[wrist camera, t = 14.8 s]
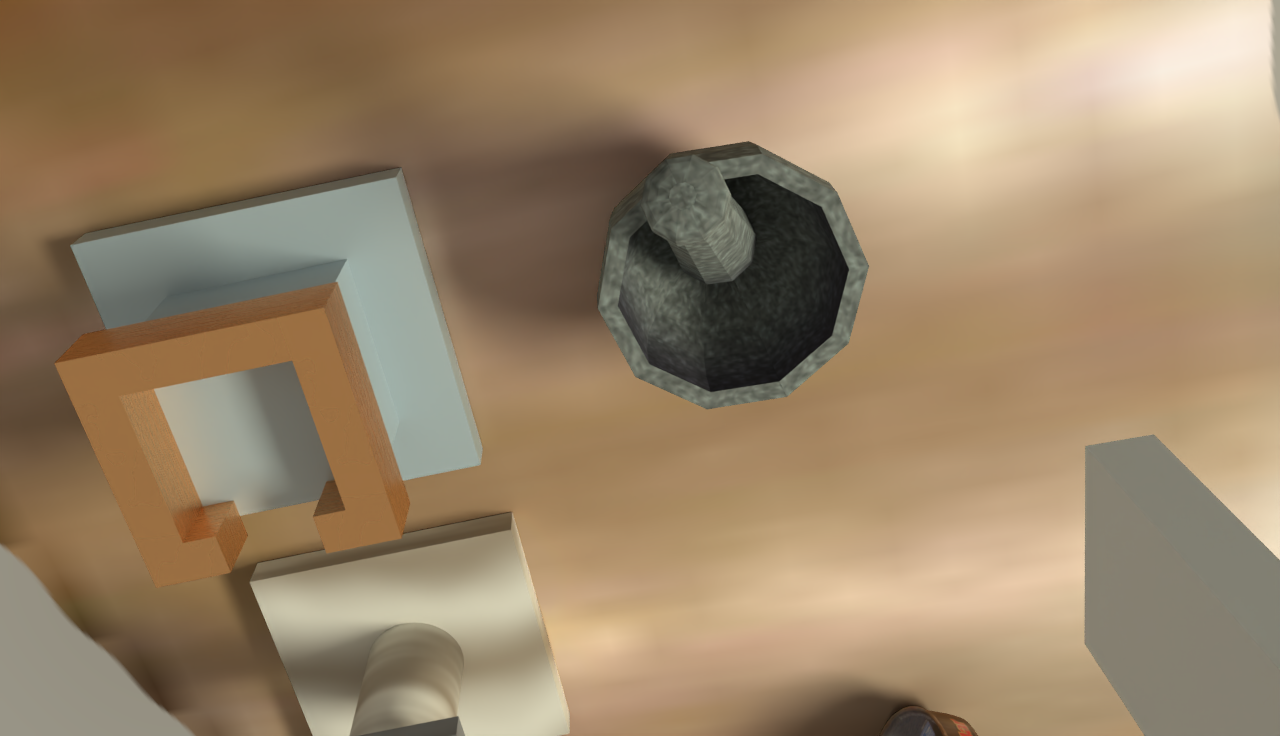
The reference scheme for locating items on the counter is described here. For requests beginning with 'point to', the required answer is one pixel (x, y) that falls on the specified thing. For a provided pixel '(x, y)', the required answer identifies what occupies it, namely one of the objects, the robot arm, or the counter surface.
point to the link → (217, 345)
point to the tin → (926, 724)
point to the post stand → (416, 636)
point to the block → (272, 395)
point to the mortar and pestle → (730, 275)
